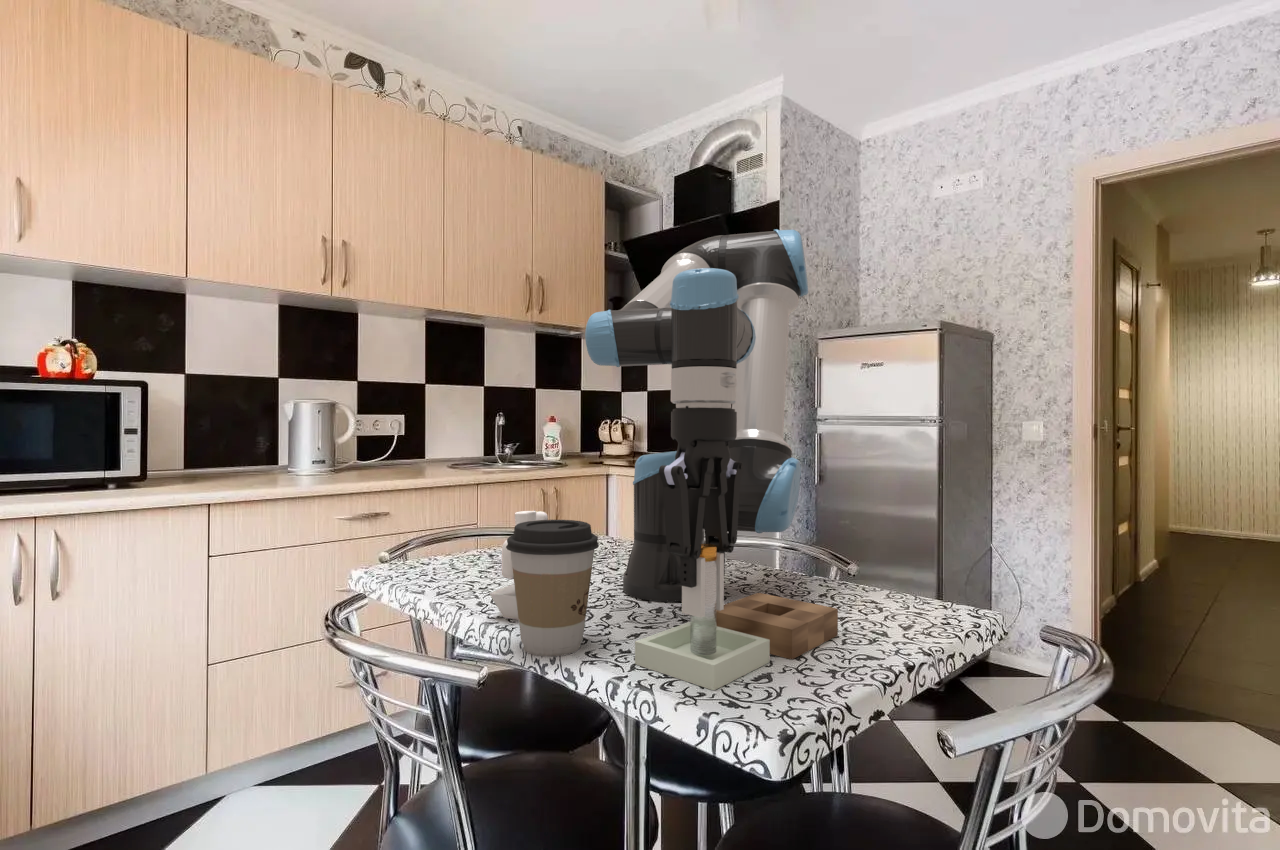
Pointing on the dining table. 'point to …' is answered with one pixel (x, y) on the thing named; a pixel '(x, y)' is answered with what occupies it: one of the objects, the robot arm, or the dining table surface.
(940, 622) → the dining table surface
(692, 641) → the clear capped vial
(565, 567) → the coffee cup
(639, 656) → the tray
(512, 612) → the figurine
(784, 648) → the block
